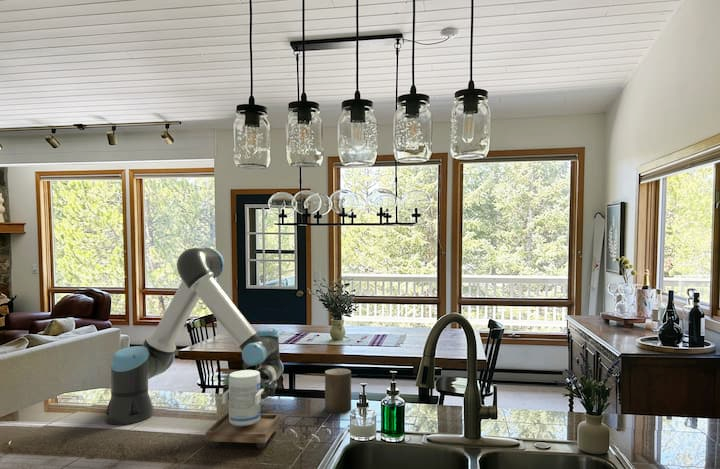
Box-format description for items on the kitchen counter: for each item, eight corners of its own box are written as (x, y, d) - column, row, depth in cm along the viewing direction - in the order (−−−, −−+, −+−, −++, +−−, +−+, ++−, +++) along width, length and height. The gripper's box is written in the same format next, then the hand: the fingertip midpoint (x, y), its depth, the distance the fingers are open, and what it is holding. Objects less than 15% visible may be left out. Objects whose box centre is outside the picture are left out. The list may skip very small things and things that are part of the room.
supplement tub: (265, 422, 139) (265, 374, 140) (234, 429, 134) (234, 379, 134) (253, 413, 147) (254, 367, 148) (224, 419, 142) (224, 372, 142)
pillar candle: (350, 413, 162) (350, 371, 163) (323, 413, 162) (323, 371, 163) (351, 404, 172) (351, 364, 172) (325, 404, 172) (326, 364, 172)
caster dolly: (205, 449, 133) (205, 432, 133) (226, 428, 149) (226, 412, 149) (265, 451, 131) (265, 434, 132) (280, 429, 147) (280, 414, 148)
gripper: (293, 390, 158) (275, 413, 135) (231, 388, 160) (204, 411, 137) (293, 368, 158) (275, 387, 135) (232, 367, 160) (204, 386, 138)
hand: (239, 399), depth 136 cm, fingers closed on supplement tub, 9 cm apart
